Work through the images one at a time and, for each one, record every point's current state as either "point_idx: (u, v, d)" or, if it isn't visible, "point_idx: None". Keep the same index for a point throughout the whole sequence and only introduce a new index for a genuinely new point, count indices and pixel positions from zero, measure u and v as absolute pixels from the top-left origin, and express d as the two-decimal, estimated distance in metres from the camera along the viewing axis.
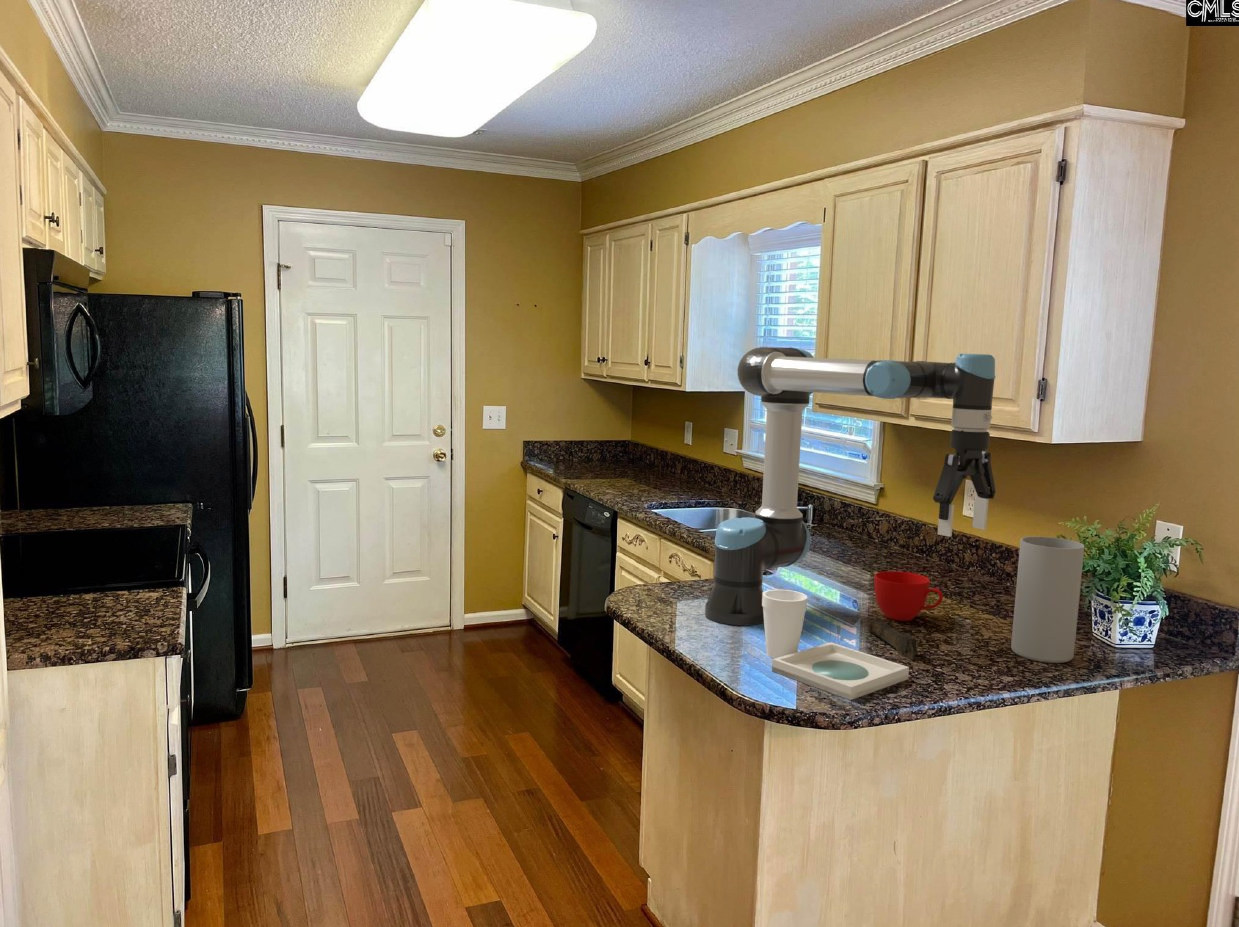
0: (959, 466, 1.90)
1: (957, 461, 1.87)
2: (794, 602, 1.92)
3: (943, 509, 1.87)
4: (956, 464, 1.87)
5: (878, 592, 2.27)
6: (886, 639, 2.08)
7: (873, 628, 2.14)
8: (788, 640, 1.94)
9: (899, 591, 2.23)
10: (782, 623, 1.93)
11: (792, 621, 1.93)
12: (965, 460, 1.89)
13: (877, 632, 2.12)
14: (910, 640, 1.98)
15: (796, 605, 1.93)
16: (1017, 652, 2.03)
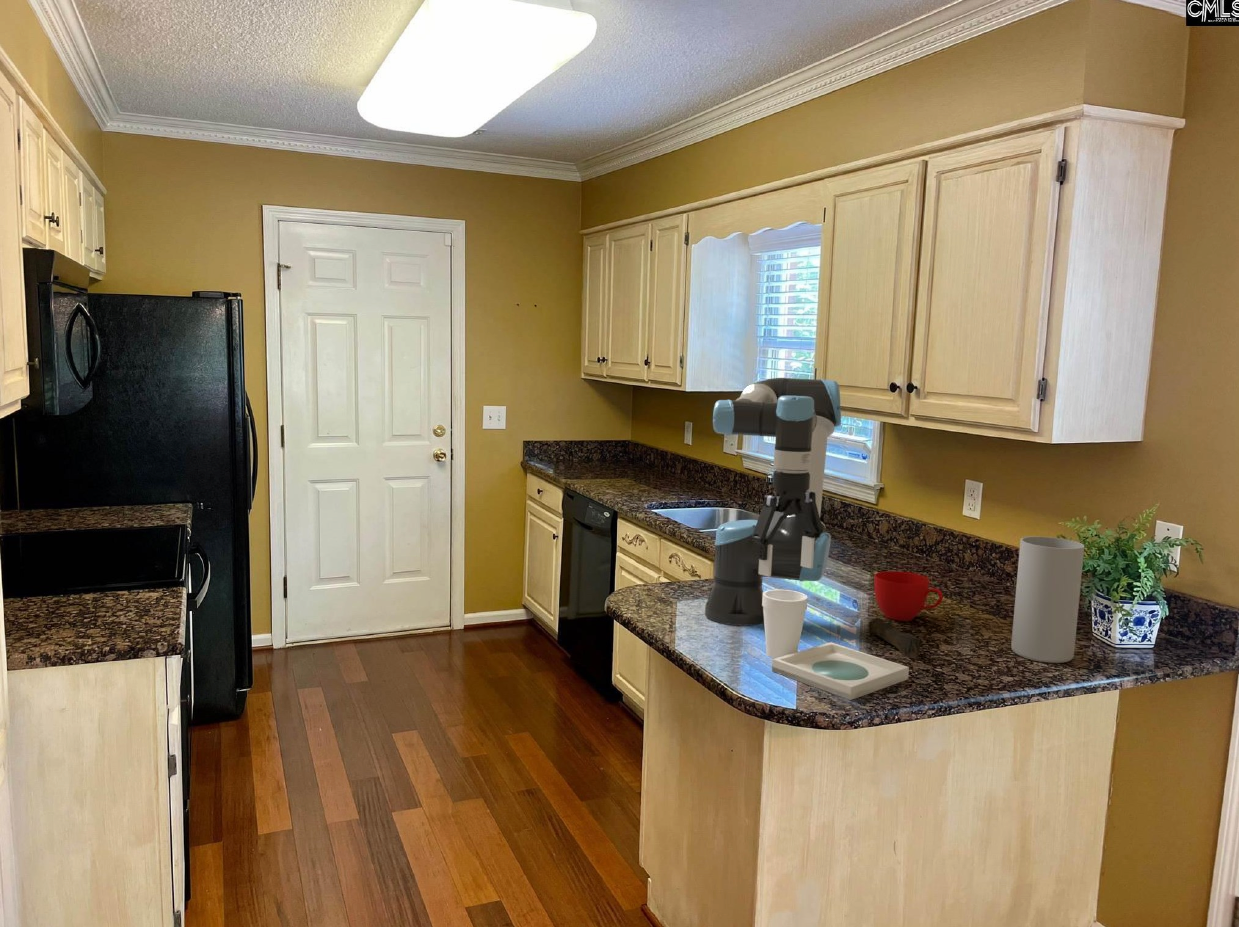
0: (780, 507, 1.93)
1: (775, 502, 1.89)
2: (794, 602, 1.92)
3: (761, 549, 1.90)
4: (774, 505, 1.89)
5: (878, 592, 2.27)
6: (887, 639, 2.08)
7: (873, 628, 2.14)
8: (788, 640, 1.94)
9: (899, 591, 2.23)
10: (782, 623, 1.93)
11: (792, 621, 1.93)
12: (785, 501, 1.91)
13: (877, 632, 2.12)
14: (913, 640, 1.98)
15: (796, 605, 1.93)
16: (1017, 652, 2.03)
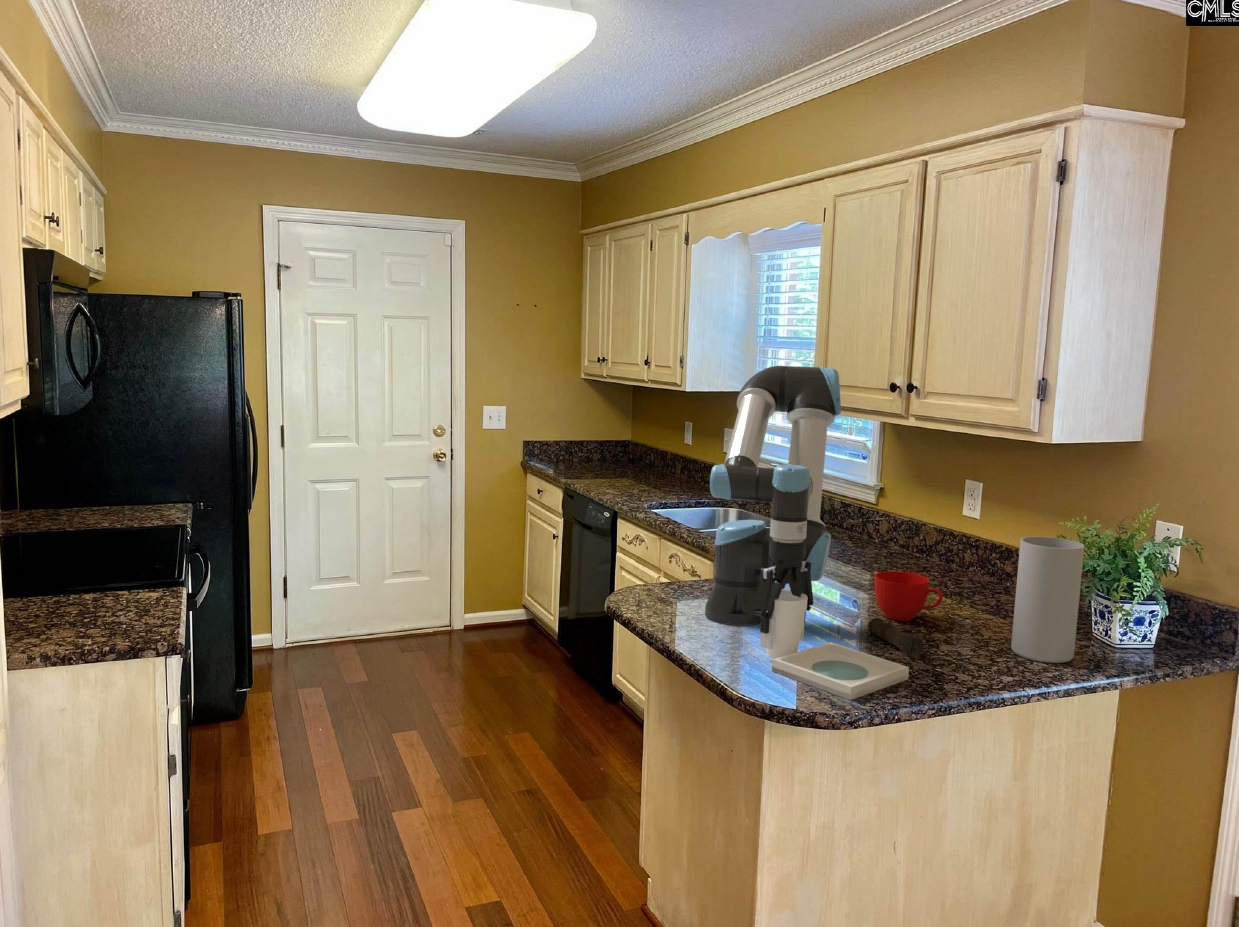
0: (776, 575, 1.94)
1: (771, 575, 1.91)
2: (794, 602, 1.92)
3: (763, 623, 1.93)
4: (770, 578, 1.91)
5: (878, 592, 2.27)
6: (888, 639, 2.08)
7: (872, 628, 2.14)
8: (788, 640, 1.94)
9: (899, 591, 2.23)
10: (782, 623, 1.93)
11: (792, 621, 1.93)
12: (781, 570, 1.93)
13: (877, 632, 2.12)
14: (915, 640, 1.99)
15: (796, 605, 1.93)
16: (1017, 652, 2.03)
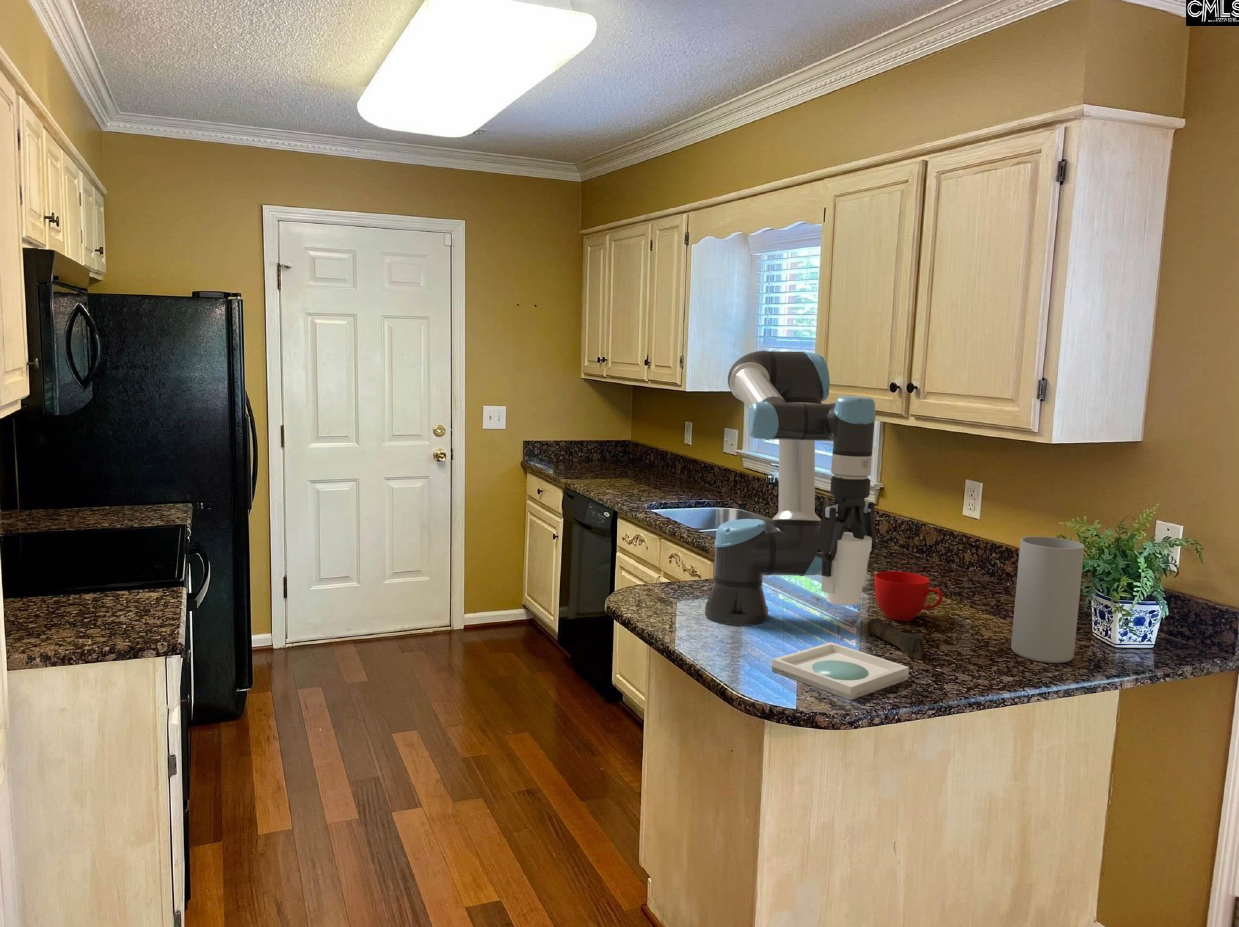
0: (838, 515, 1.81)
1: (834, 514, 1.78)
2: (859, 542, 1.79)
3: (825, 565, 1.80)
4: (833, 517, 1.78)
5: (878, 592, 2.27)
6: (888, 639, 2.07)
7: (872, 628, 2.14)
8: (851, 584, 1.81)
9: (899, 591, 2.23)
10: (845, 565, 1.80)
11: (856, 563, 1.80)
12: (844, 508, 1.80)
13: (877, 632, 2.12)
14: (917, 640, 1.99)
15: (860, 546, 1.79)
16: (1017, 652, 2.03)
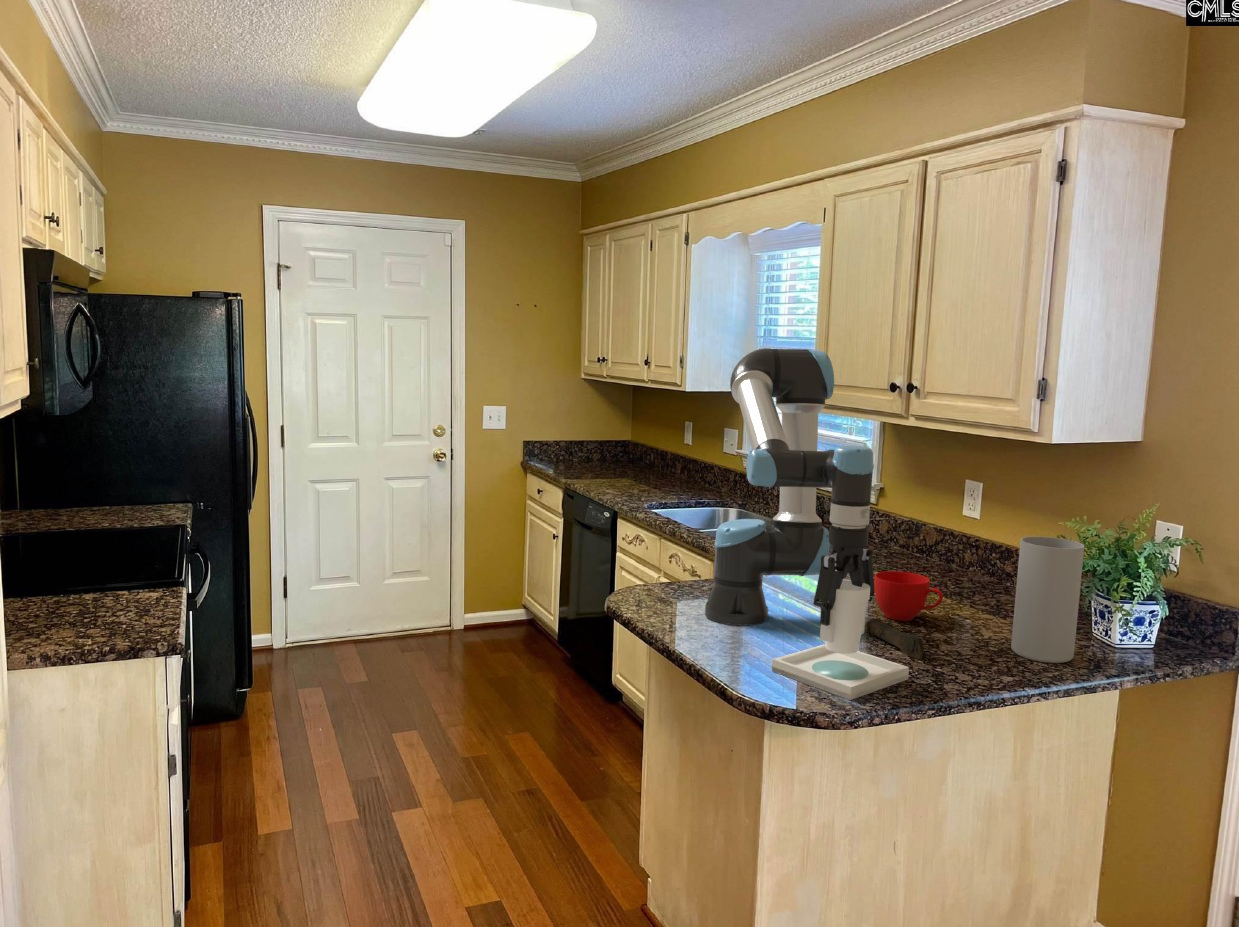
0: (837, 563, 1.82)
1: (833, 563, 1.79)
2: (857, 592, 1.80)
3: (824, 614, 1.81)
4: (832, 567, 1.79)
5: (878, 592, 2.27)
6: (888, 639, 2.07)
7: (871, 628, 2.14)
8: (850, 632, 1.82)
9: (899, 591, 2.23)
10: (844, 614, 1.81)
11: (855, 612, 1.81)
12: (843, 558, 1.81)
13: (876, 632, 2.12)
14: (917, 640, 1.99)
15: (859, 595, 1.81)
16: (1017, 652, 2.03)
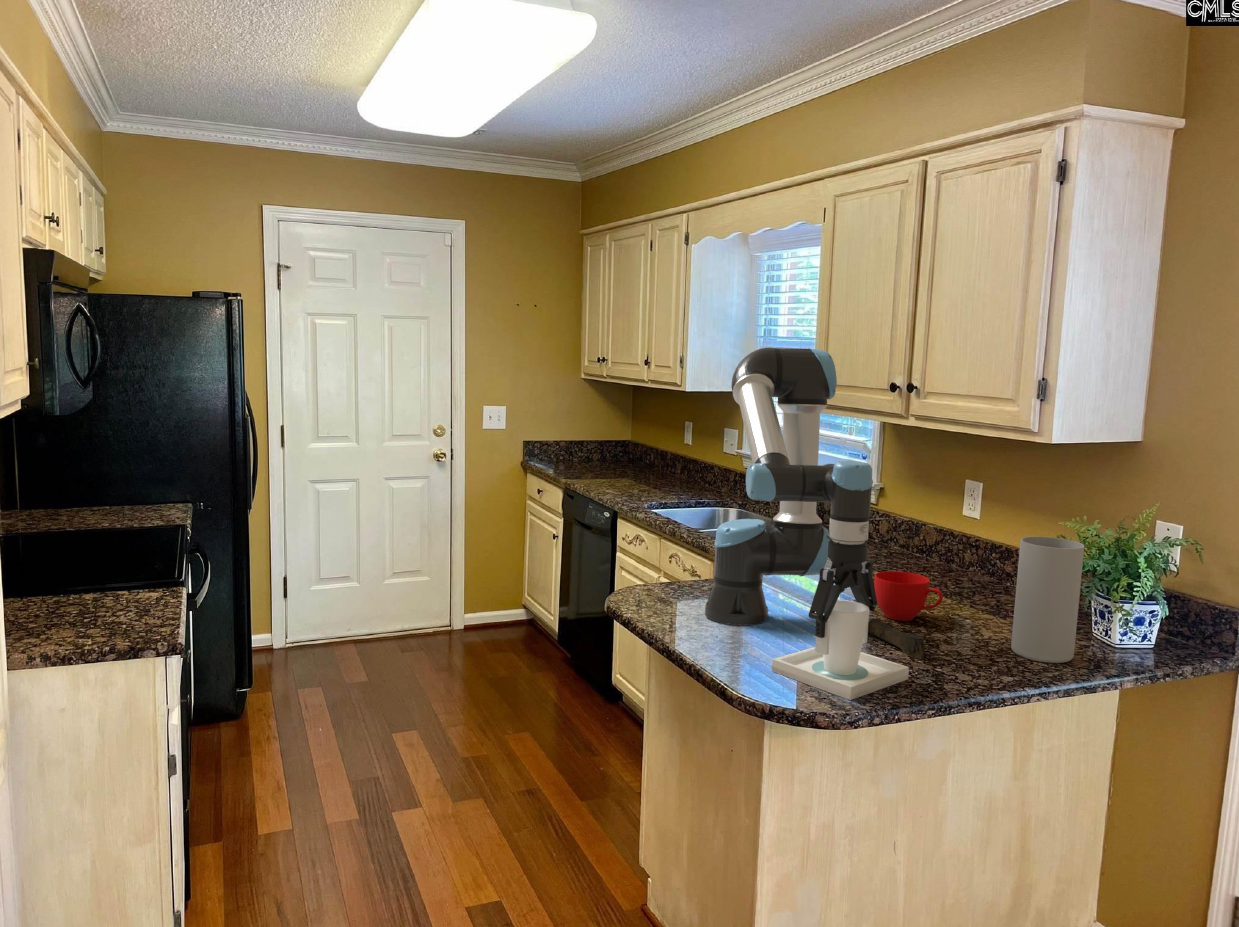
0: (836, 579, 1.83)
1: (832, 577, 1.80)
2: (856, 614, 1.81)
3: (819, 627, 1.81)
4: (831, 580, 1.80)
5: (878, 592, 2.27)
6: (888, 639, 2.07)
7: (871, 629, 2.14)
8: (848, 654, 1.83)
9: (899, 591, 2.23)
10: (843, 636, 1.82)
11: (853, 634, 1.82)
12: (841, 573, 1.82)
13: (876, 632, 2.11)
14: (918, 640, 1.99)
15: (858, 617, 1.81)
16: (1017, 652, 2.03)
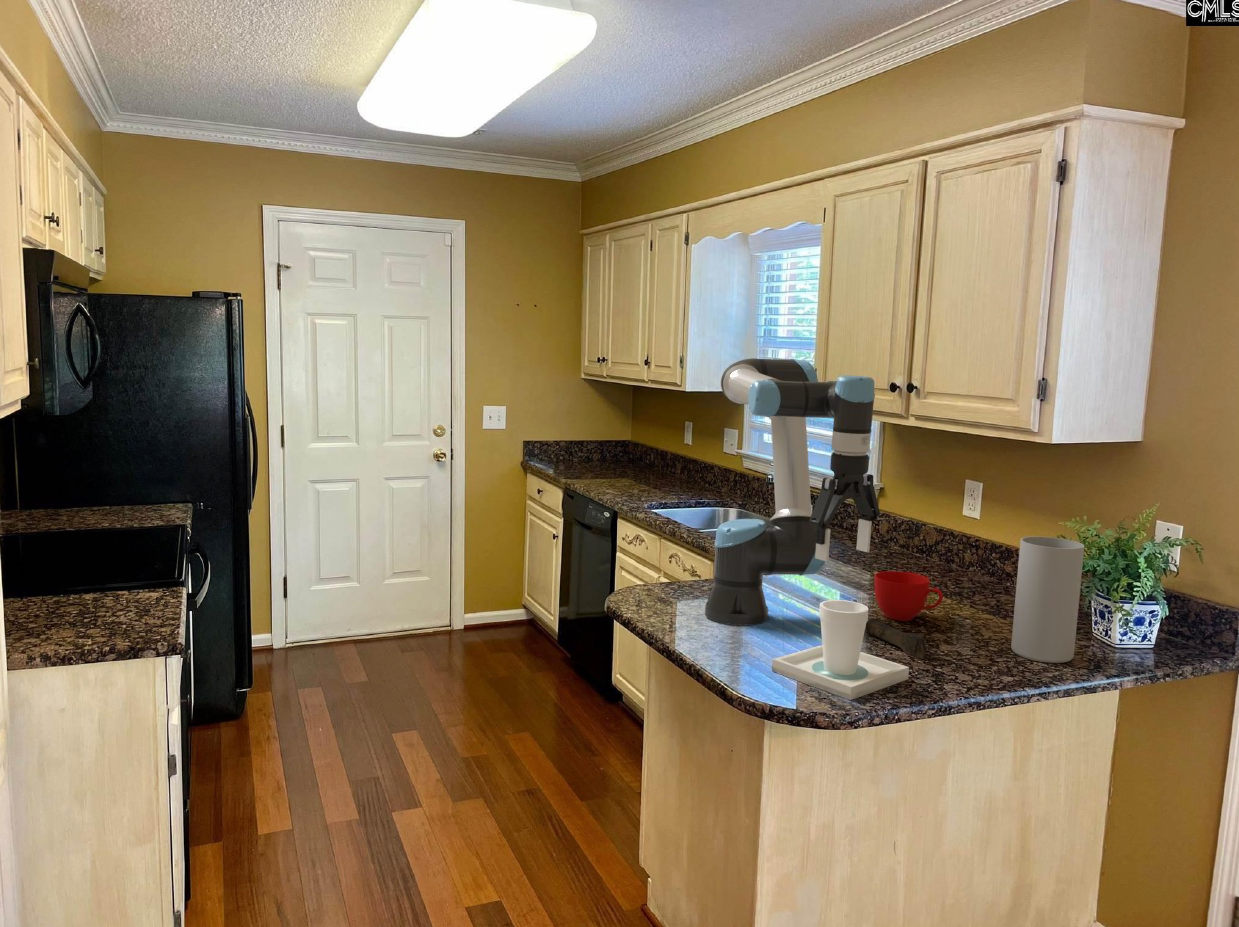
0: (838, 490, 1.88)
1: (833, 485, 1.85)
2: (855, 614, 1.81)
3: (819, 534, 1.86)
4: (832, 488, 1.85)
5: (878, 592, 2.27)
6: (888, 639, 2.07)
7: (870, 628, 2.13)
8: (848, 654, 1.83)
9: (899, 591, 2.23)
10: (842, 636, 1.82)
11: (853, 634, 1.82)
12: (843, 484, 1.87)
13: (876, 632, 2.11)
14: (920, 639, 1.99)
15: (857, 617, 1.81)
16: (1017, 652, 2.03)
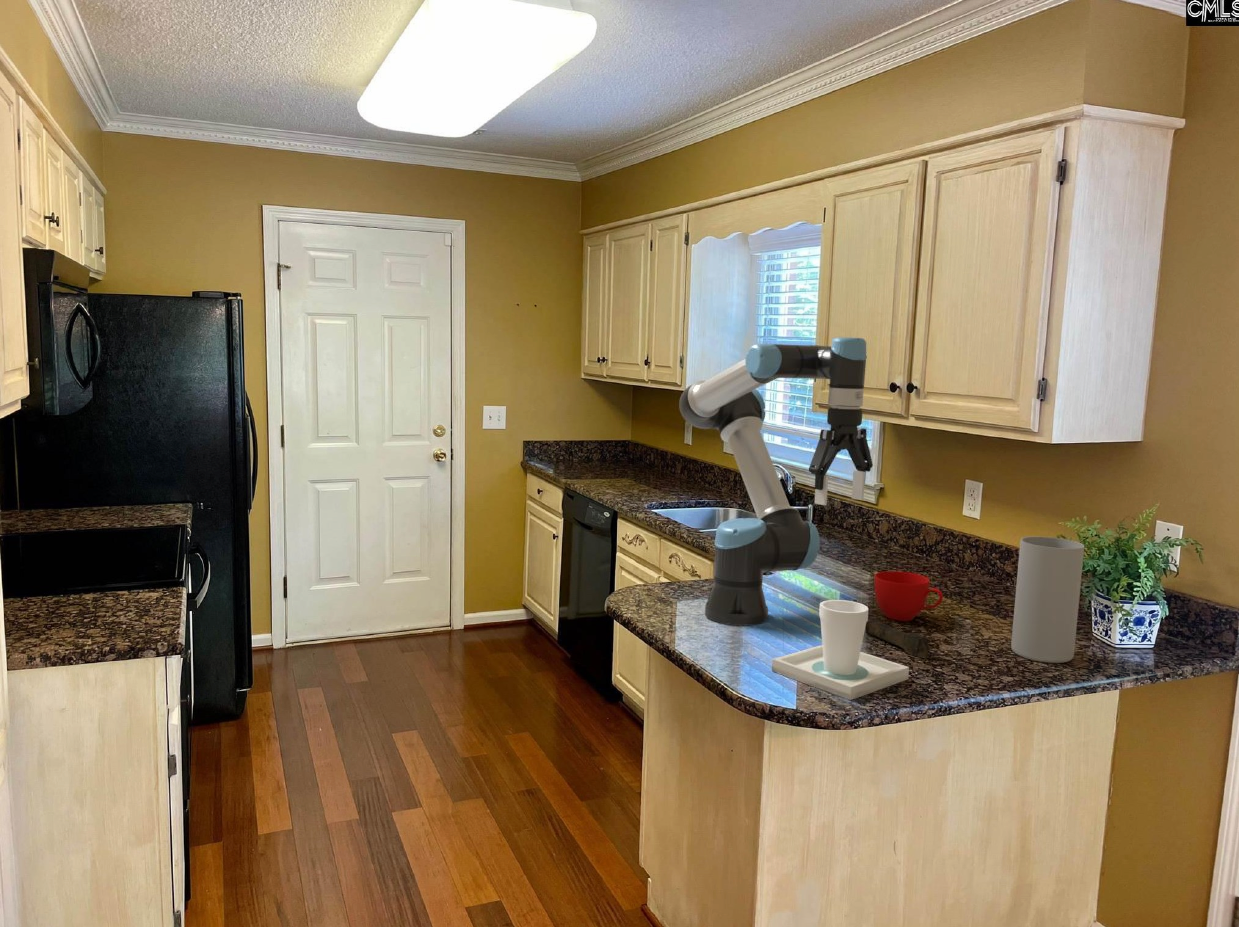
0: (834, 441, 2.07)
1: (830, 436, 2.04)
2: (855, 614, 1.81)
3: (818, 480, 2.04)
4: (829, 438, 2.03)
5: (878, 592, 2.27)
6: (889, 639, 2.07)
7: (870, 629, 2.13)
8: (848, 654, 1.83)
9: (899, 591, 2.23)
10: (842, 636, 1.82)
11: (853, 634, 1.82)
12: (839, 435, 2.06)
13: (876, 632, 2.11)
14: (922, 639, 1.99)
15: (857, 617, 1.81)
16: (1017, 652, 2.03)
